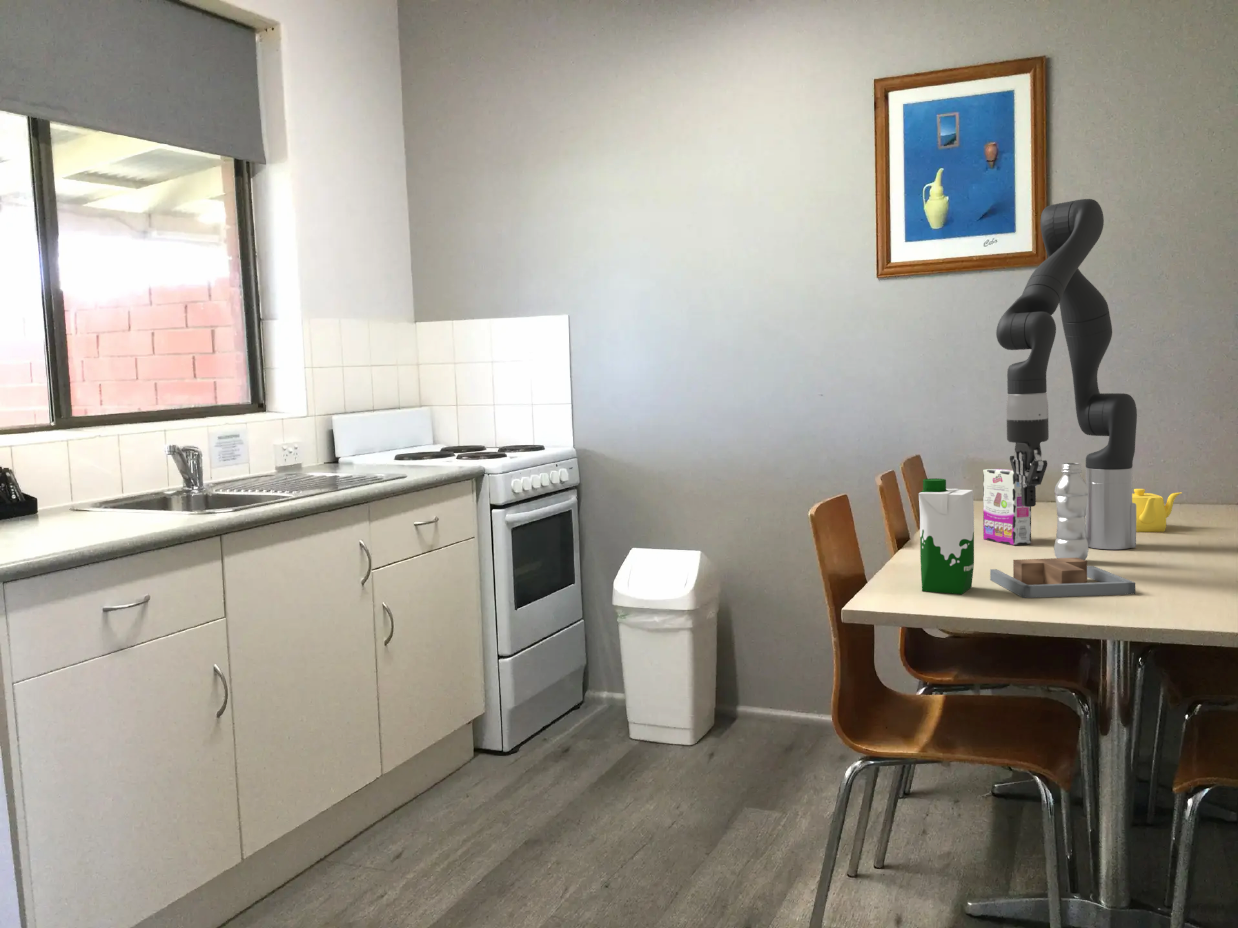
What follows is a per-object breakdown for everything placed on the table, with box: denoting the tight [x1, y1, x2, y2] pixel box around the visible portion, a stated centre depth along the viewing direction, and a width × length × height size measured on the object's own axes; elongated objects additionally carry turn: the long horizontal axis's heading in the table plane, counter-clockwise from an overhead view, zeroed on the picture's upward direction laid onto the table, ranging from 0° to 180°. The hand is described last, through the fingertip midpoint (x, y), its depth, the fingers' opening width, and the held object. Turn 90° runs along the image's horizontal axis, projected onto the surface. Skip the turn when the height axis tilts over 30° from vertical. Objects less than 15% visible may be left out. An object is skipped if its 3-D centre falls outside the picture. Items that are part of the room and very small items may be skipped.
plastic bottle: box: [1053, 462, 1090, 561], centre depth 214 cm, size 6×7×20 cm
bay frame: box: [989, 565, 1136, 599], centre depth 192 cm, size 19×16×2 cm
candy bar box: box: [982, 468, 1032, 546], centre depth 241 cm, size 11×5×16 cm, turn 18°
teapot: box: [1132, 488, 1183, 533], centre depth 253 cm, size 15×14×10 cm
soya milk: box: [918, 478, 975, 595], centre depth 192 cm, size 9×9×20 cm
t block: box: [1012, 557, 1088, 585], centre depth 192 cm, size 12×12×4 cm
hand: (1028, 505), depth 206 cm, fingers closed
